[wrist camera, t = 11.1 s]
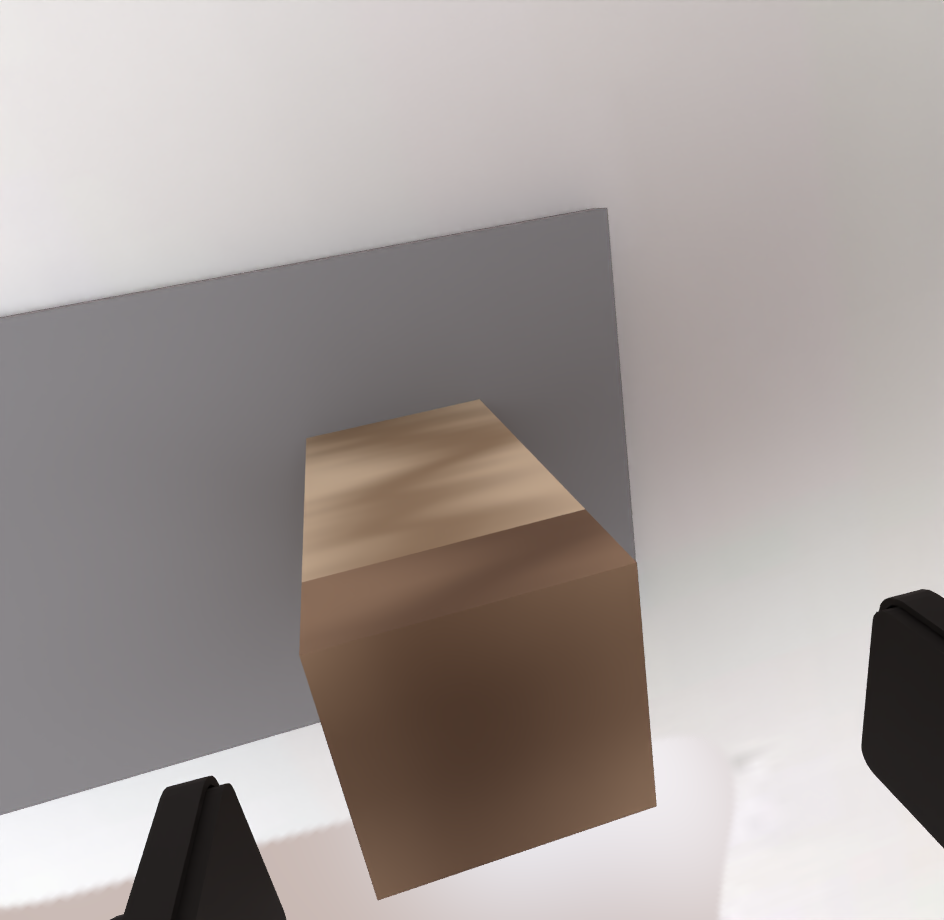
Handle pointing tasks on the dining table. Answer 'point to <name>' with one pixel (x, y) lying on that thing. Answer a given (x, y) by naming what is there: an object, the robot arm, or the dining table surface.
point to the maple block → (467, 646)
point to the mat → (254, 472)
